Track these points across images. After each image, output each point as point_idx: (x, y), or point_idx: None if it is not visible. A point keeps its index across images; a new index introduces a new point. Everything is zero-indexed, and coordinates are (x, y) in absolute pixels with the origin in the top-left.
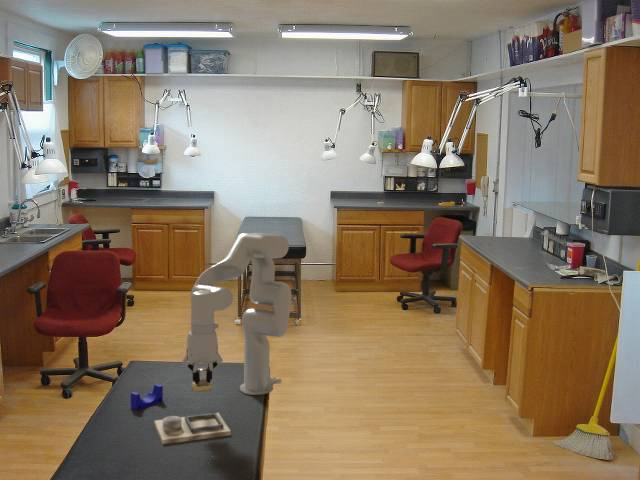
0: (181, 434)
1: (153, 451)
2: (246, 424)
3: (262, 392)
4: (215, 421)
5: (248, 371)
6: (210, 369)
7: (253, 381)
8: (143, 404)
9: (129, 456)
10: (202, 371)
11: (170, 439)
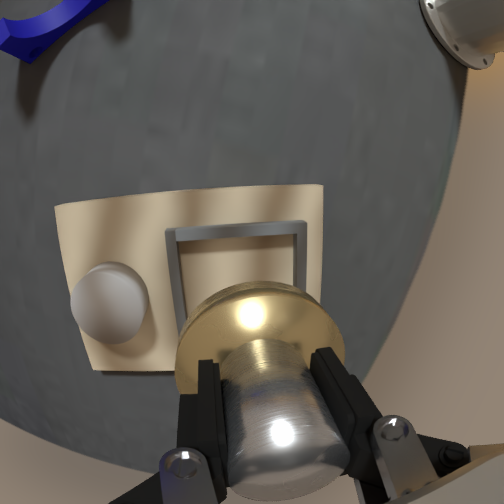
0: (148, 351)
1: (80, 388)
2: (383, 279)
3: (475, 67)
4: (289, 273)
5: (488, 10)
6: (363, 477)
7: (478, 36)
8: (48, 37)
9: (36, 389)
10: (276, 498)
11: (115, 369)
